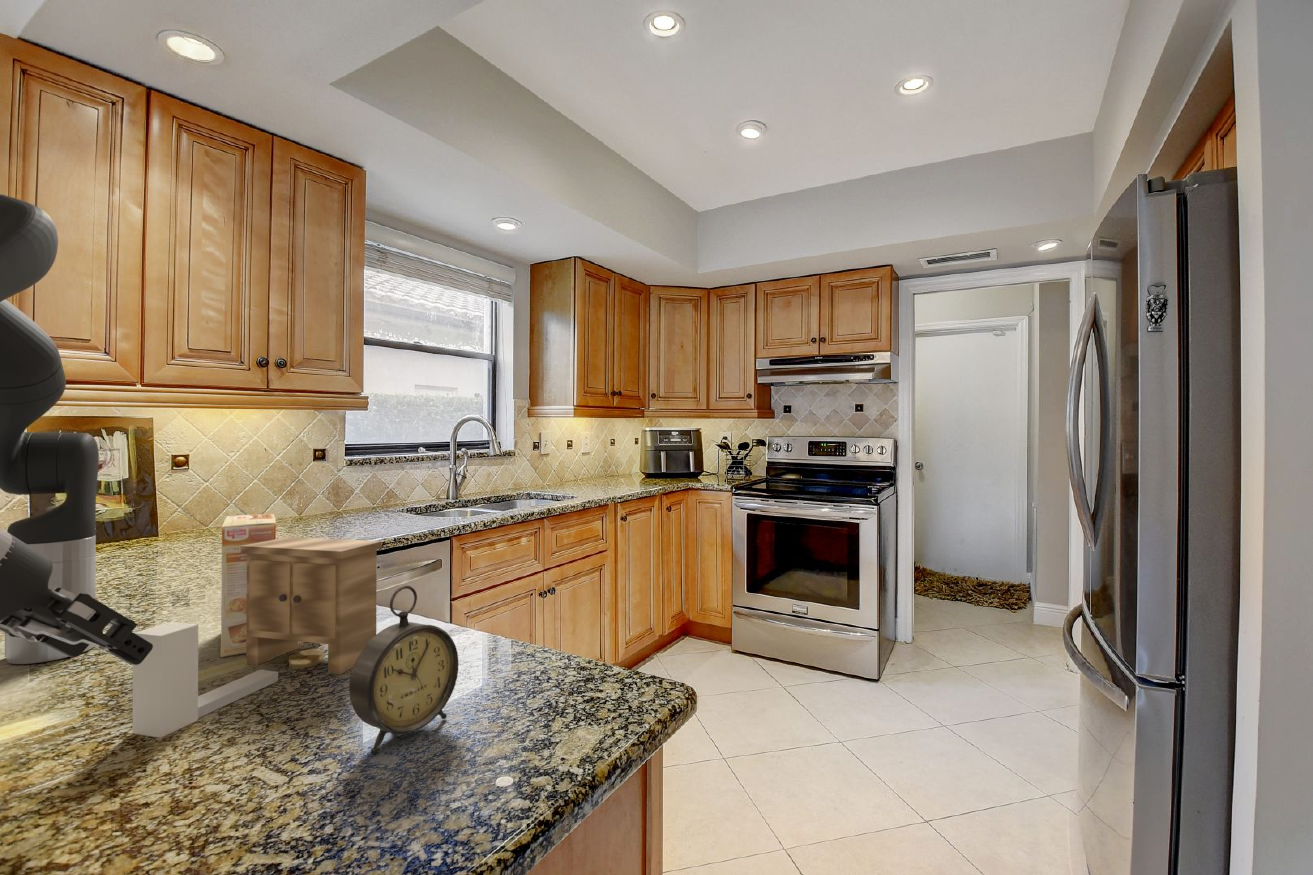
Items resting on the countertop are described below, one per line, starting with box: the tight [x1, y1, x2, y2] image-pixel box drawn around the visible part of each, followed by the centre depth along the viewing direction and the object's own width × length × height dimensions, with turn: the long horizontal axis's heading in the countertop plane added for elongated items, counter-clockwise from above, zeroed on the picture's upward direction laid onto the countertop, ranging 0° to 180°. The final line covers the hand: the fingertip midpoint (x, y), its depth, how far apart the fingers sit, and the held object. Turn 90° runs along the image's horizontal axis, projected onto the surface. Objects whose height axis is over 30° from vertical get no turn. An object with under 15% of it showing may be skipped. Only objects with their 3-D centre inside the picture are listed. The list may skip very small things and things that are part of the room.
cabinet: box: [241, 536, 383, 675], centre depth 84 cm, size 17×8×17 cm, turn 76°
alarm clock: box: [349, 585, 460, 755], centre depth 63 cm, size 11×5×16 cm, turn 148°
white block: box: [132, 621, 279, 739], centre depth 70 cm, size 4×15×11 cm, turn 167°
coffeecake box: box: [219, 513, 277, 658], centre depth 93 cm, size 15×7×20 cm, turn 34°
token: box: [288, 648, 325, 670], centre depth 83 cm, size 4×4×1 cm
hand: (113, 651), depth 60 cm, fingers open, 8 cm apart
